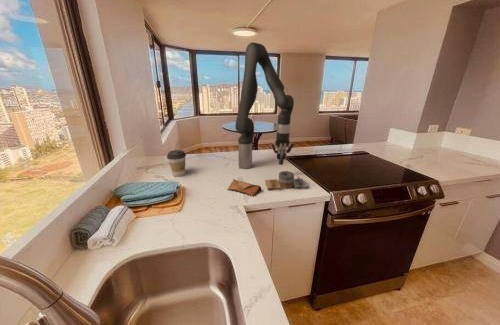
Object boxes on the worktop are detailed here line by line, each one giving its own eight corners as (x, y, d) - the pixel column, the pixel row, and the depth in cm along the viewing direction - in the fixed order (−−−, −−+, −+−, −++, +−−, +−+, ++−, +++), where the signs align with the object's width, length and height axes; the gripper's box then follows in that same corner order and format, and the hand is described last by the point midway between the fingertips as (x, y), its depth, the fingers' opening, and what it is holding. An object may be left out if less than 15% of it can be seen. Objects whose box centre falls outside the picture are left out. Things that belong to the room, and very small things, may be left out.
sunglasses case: (225, 189, 115) (228, 177, 116) (231, 190, 121) (234, 179, 122) (254, 197, 107) (257, 184, 108) (259, 198, 114) (262, 186, 114)
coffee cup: (183, 179, 128) (179, 155, 123) (166, 177, 130) (162, 154, 125) (191, 171, 138) (188, 149, 133) (175, 170, 141) (172, 148, 135)
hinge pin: (279, 164, 128) (280, 145, 123) (278, 163, 130) (279, 144, 126) (283, 164, 128) (285, 145, 124) (282, 163, 131) (284, 144, 126)
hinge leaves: (267, 190, 114) (268, 178, 112) (265, 182, 124) (265, 171, 121) (307, 188, 116) (309, 177, 114) (302, 180, 125) (303, 169, 123)
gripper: (293, 129, 126) (290, 156, 132) (270, 129, 125) (268, 157, 131) (297, 132, 119) (294, 161, 125) (272, 133, 118) (270, 161, 124)
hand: (281, 159), depth 128 cm, fingers closed on hinge pin, 2 cm apart
